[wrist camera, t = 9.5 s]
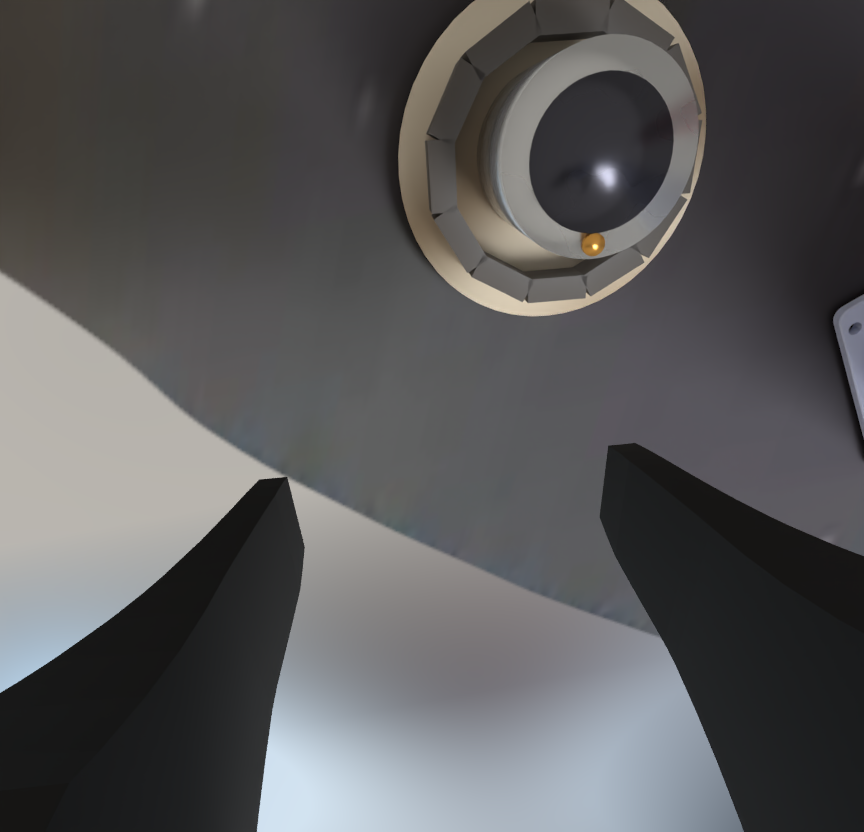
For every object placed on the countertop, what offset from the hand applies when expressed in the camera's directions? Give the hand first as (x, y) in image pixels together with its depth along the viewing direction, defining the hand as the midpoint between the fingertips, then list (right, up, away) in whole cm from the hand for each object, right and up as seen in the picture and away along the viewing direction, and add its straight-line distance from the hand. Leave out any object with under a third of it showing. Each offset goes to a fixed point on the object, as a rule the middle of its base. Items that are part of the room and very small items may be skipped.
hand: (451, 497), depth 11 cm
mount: (+3, +10, +5) cm, 12 cm away
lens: (+4, +10, +5) cm, 12 cm away
